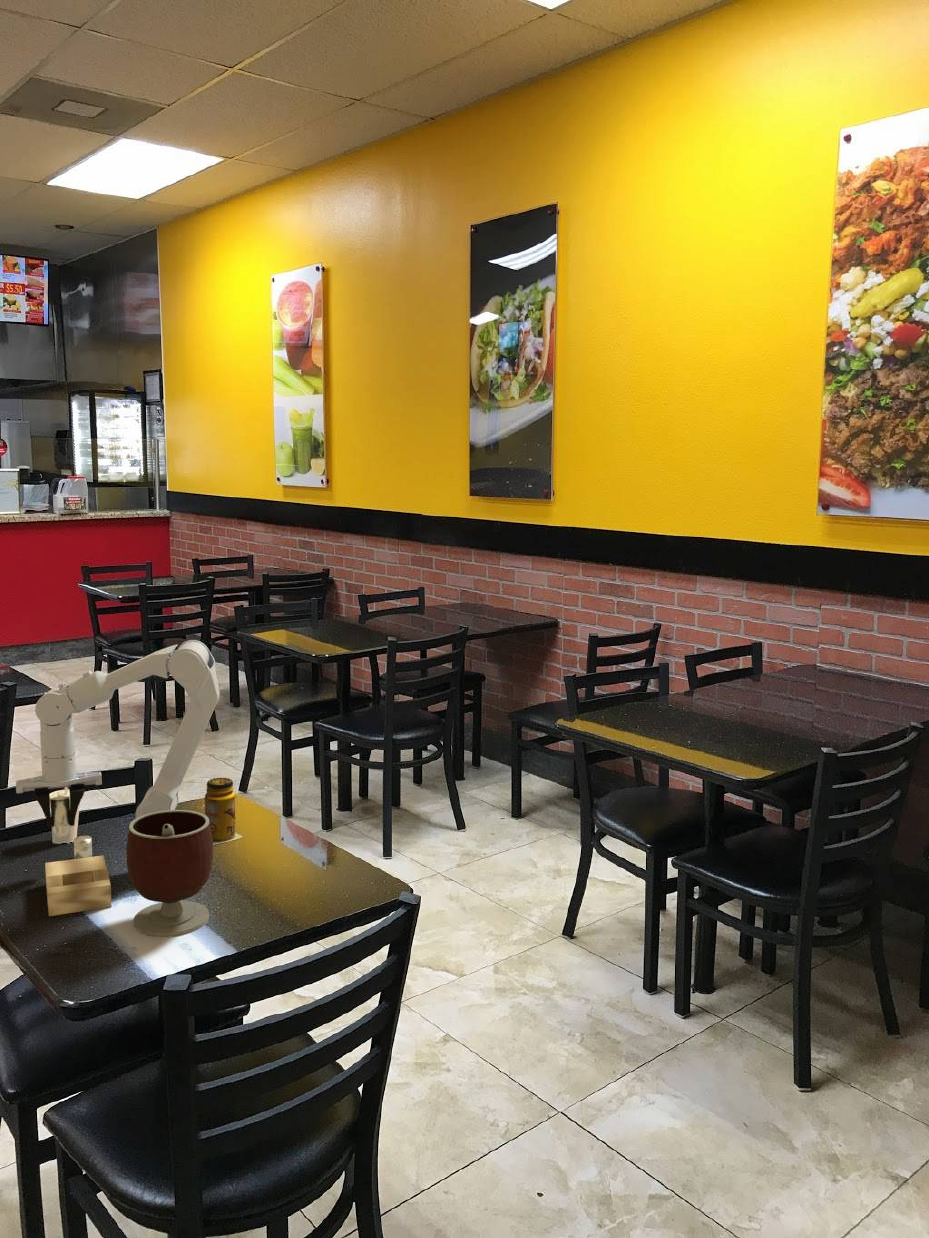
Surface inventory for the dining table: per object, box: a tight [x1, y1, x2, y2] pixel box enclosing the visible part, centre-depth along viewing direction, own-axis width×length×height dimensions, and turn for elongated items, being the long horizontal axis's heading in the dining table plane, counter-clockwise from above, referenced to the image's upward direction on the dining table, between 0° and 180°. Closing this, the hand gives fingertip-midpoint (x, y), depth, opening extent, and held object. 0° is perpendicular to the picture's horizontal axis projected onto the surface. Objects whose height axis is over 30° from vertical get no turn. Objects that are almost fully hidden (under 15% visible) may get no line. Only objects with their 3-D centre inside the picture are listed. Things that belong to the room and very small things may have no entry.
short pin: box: [73, 835, 93, 859], centre depth 193 cm, size 3×3×4 cm
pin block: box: [44, 855, 112, 917], centre depth 177 cm, size 10×14×4 cm
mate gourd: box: [125, 809, 214, 938], centre depth 166 cm, size 16×14×20 cm
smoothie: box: [49, 787, 80, 844], centre depth 201 cm, size 6×6×14 cm
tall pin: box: [50, 796, 71, 845], centre depth 185 cm, size 3×3×8 cm
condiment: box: [204, 777, 244, 846], centre depth 205 cm, size 7×8×12 cm
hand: (61, 825), depth 185 cm, fingers closed on tall pin, 3 cm apart
